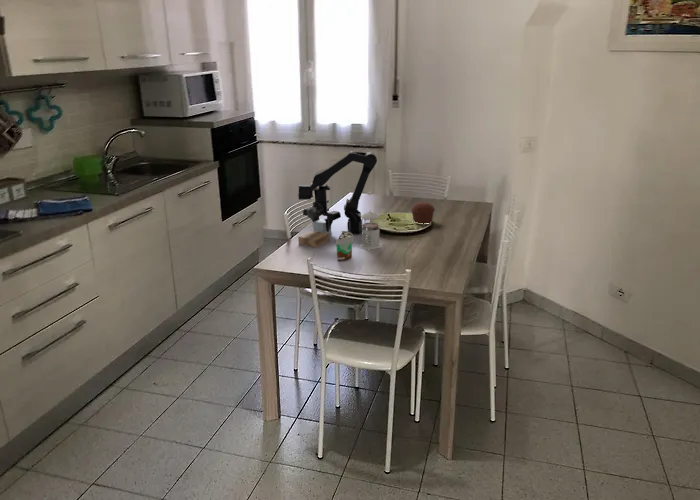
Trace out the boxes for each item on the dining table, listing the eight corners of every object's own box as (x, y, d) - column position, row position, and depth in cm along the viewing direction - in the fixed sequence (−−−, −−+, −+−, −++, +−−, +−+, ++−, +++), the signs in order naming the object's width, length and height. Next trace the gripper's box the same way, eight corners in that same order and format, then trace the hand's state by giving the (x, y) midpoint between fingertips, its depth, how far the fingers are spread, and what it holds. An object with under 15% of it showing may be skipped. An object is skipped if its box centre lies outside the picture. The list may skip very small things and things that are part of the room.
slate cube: (331, 232, 279) (330, 220, 277) (323, 235, 274) (323, 223, 272) (321, 230, 282) (320, 218, 280) (313, 233, 277) (313, 221, 275)
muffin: (408, 224, 286) (408, 205, 283) (414, 218, 296) (414, 199, 292) (431, 226, 282) (432, 206, 278) (437, 220, 291) (437, 200, 288)
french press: (366, 250, 253) (365, 195, 244) (354, 243, 263) (352, 189, 254) (386, 246, 257) (385, 191, 249) (373, 239, 267) (371, 186, 258)
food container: (351, 263, 240) (350, 240, 237) (336, 262, 241) (335, 239, 238) (356, 252, 251) (356, 230, 248) (343, 252, 253) (342, 230, 249)
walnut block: (329, 241, 267) (328, 233, 266) (316, 248, 259) (316, 240, 258) (311, 238, 272) (311, 230, 271) (298, 245, 264) (298, 236, 263)
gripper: (294, 200, 271) (296, 232, 277) (326, 205, 261) (328, 238, 266) (309, 195, 280) (311, 225, 285) (340, 200, 269) (342, 231, 275)
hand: (322, 230), depth 278 cm, fingers closed on slate cube, 6 cm apart
